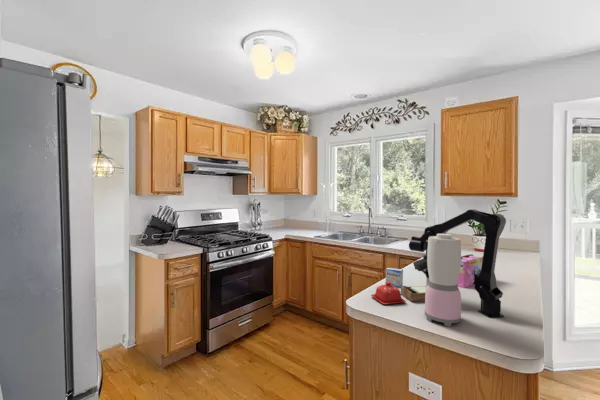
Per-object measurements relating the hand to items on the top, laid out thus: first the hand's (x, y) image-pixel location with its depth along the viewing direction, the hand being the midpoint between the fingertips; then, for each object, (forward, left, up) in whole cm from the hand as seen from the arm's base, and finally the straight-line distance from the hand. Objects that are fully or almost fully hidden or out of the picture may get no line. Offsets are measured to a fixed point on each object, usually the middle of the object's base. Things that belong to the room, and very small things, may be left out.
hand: (432, 287), depth 133 cm
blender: (-21, +9, -5) cm, 24 cm away
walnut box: (0, +6, -4) cm, 7 cm away
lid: (0, +2, -1) cm, 3 cm away
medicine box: (+18, +10, -5) cm, 21 cm away
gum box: (+19, -33, -5) cm, 38 cm away
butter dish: (-1, +22, -5) cm, 22 cm away
